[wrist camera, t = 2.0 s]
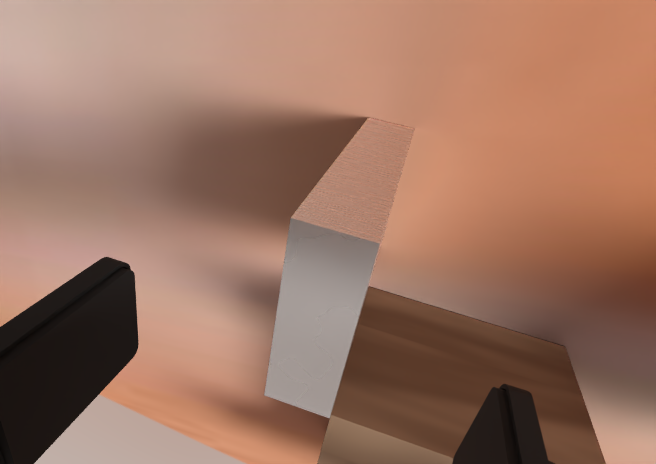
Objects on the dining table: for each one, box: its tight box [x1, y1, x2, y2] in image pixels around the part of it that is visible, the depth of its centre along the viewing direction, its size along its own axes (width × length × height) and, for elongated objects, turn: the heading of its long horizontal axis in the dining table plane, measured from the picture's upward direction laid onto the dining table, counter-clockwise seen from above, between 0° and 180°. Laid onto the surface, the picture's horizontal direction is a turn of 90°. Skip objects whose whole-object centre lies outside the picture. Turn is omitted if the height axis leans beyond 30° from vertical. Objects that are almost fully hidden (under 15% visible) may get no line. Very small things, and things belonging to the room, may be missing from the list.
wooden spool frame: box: [317, 287, 606, 464], centre depth 21 cm, size 13×10×8 cm
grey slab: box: [264, 117, 414, 419], centre depth 14 cm, size 6×2×10 cm, turn 170°
